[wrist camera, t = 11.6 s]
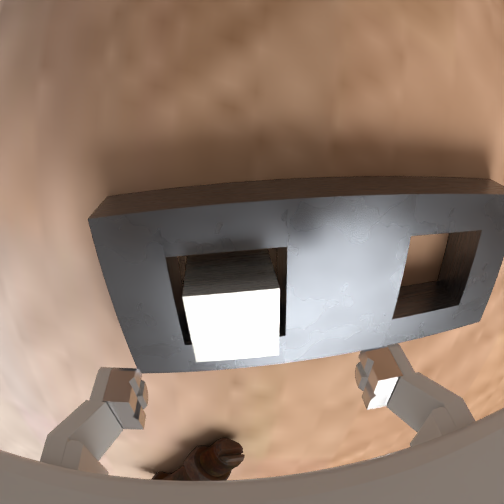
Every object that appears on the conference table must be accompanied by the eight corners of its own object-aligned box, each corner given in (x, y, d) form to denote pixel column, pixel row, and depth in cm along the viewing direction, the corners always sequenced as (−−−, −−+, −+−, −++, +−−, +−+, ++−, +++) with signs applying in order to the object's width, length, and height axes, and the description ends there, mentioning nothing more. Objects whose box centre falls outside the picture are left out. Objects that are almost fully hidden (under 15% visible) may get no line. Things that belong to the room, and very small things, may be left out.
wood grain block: (263, 235, 18) (279, 288, 13) (264, 294, 20) (278, 354, 15) (189, 241, 17) (182, 296, 13) (198, 300, 19) (196, 362, 15)
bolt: (235, 420, 29) (171, 469, 34) (197, 429, 25) (139, 477, 30) (265, 466, 26) (192, 506, 30) (229, 483, 22) (160, 517, 27)
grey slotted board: (490, 179, 17) (519, 195, 15) (459, 298, 22) (479, 321, 19) (107, 196, 16) (88, 218, 13) (145, 339, 20) (139, 373, 18)
